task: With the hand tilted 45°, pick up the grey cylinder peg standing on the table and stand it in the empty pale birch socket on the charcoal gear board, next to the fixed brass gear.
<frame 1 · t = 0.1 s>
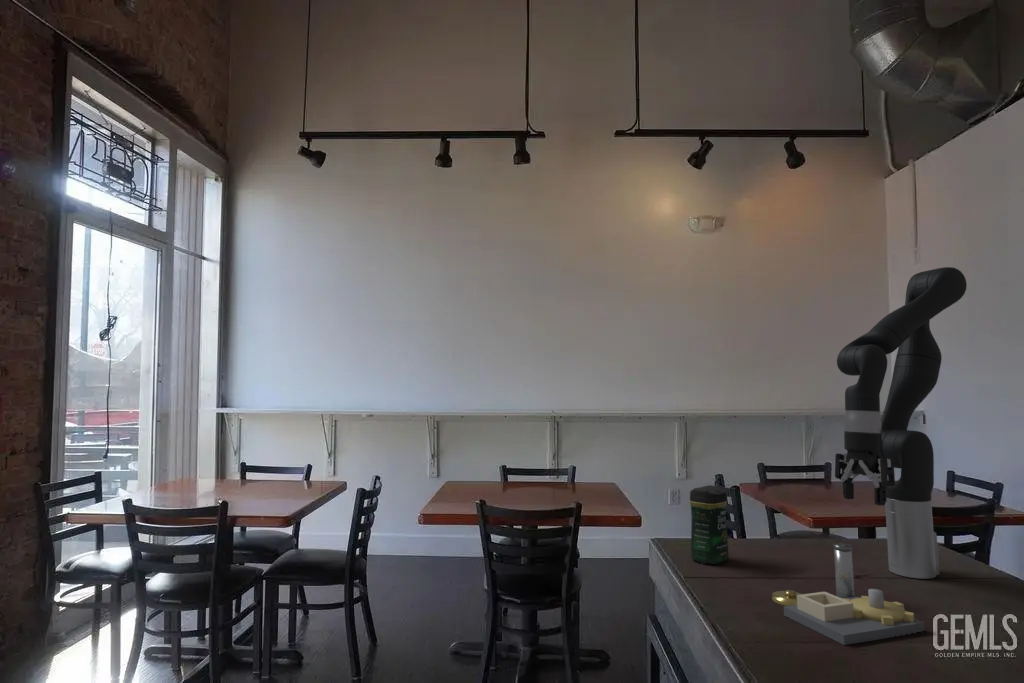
hand: (863, 501, 135), 17 cm above the counter, tool pointing down, fingers open, 8 cm apart
coffee jar: (710, 561, 150), on the counter
grey cylinder peg: (845, 599, 121), on the counter
brass knob disc: (790, 602, 121), on the counter
gear board: (851, 623, 109), on the counter
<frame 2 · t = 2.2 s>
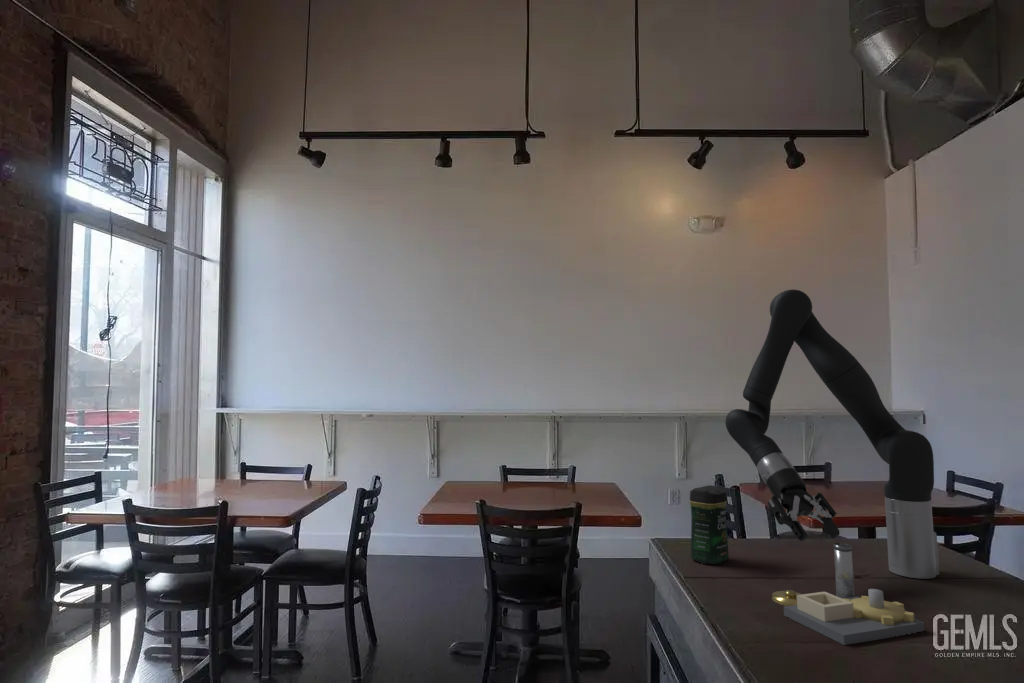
hand: (820, 537, 128), 11 cm above the counter, tool tilted 45°, fingers open, 8 cm apart
nothing on the counter moved.
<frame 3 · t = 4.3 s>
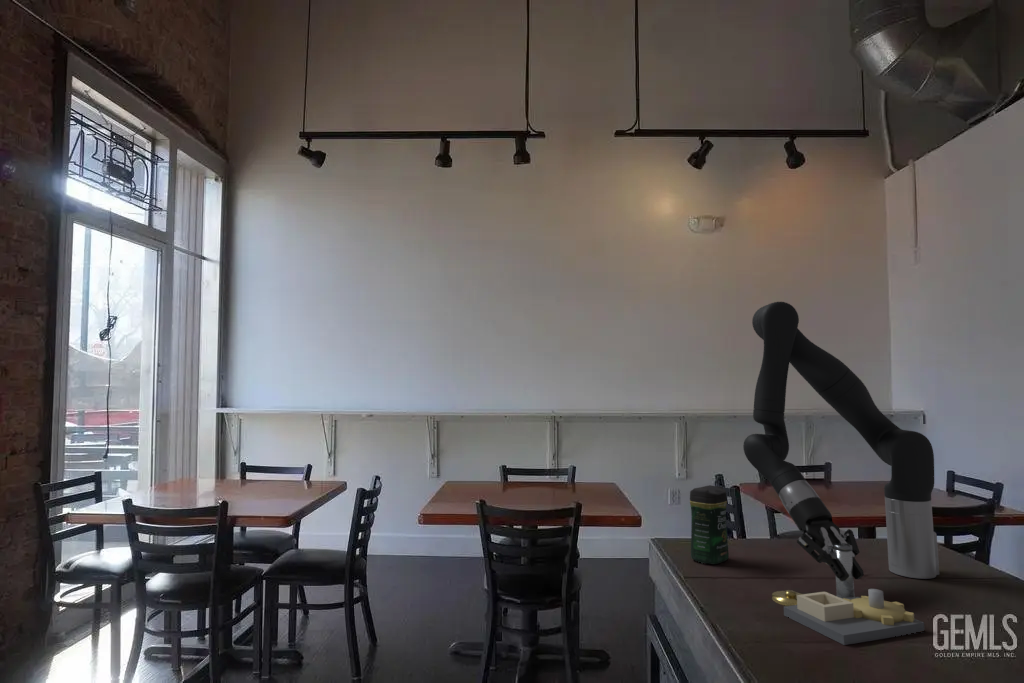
hand: (852, 577, 120), 5 cm above the counter, tool tilted 45°, fingers closed on grey cylinder peg, 3 cm apart
grey cylinder peg: (845, 599, 121), on the counter, touching gripper
everything else where it was.
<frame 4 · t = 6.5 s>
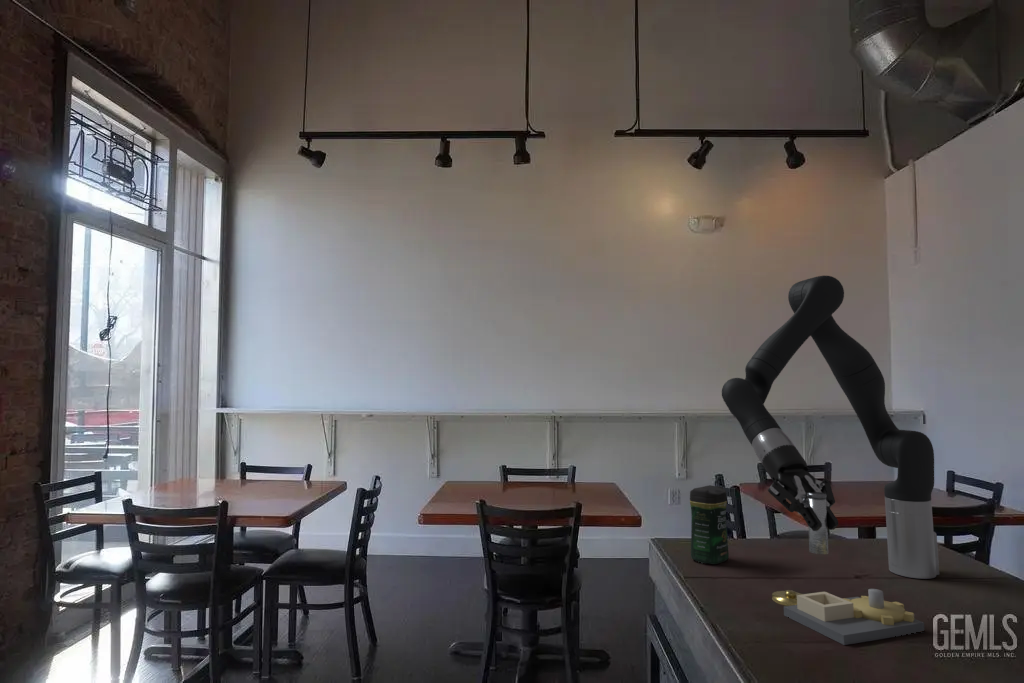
hand: (826, 527, 111), 17 cm above the counter, tool tilted 45°, fingers closed on grey cylinder peg, 3 cm apart
grey cylinder peg: (818, 552, 112), point 12 cm above the counter, touching gripper
everything else where it was.
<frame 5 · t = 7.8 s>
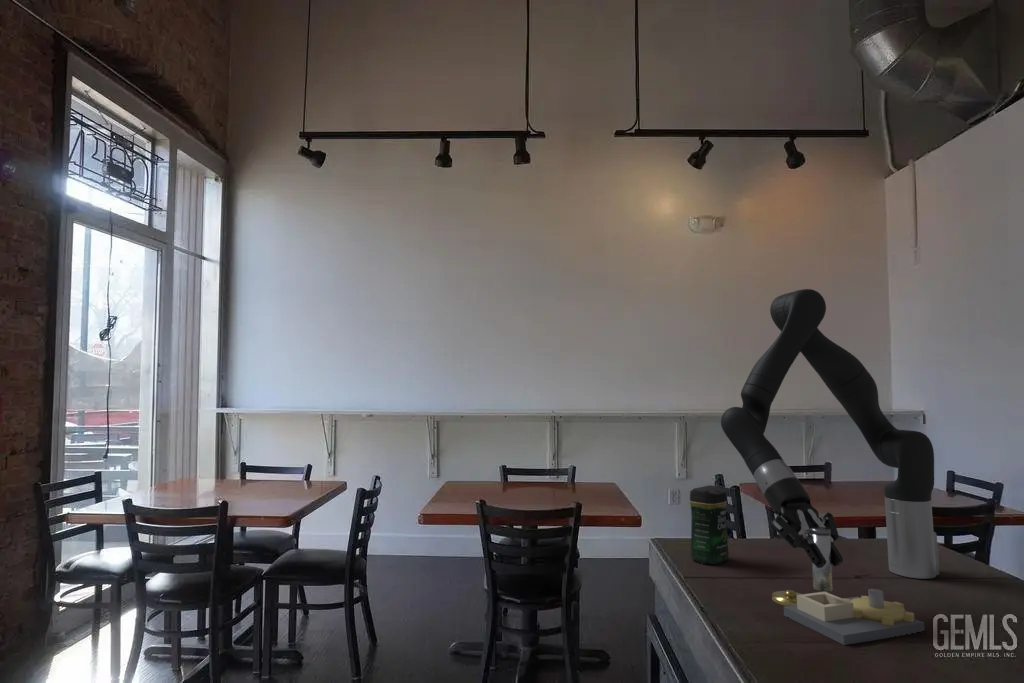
hand: (830, 564, 109), 11 cm above the counter, tool tilted 45°, fingers closed on grey cylinder peg, 3 cm apart
grey cylinder peg: (822, 588, 110), point 6 cm above the counter, touching gripper
everything else where it was.
when the fingers open (8 cm above the counter, at t = 8.7 s): grey cylinder peg drops 1 cm, resting on gear board.
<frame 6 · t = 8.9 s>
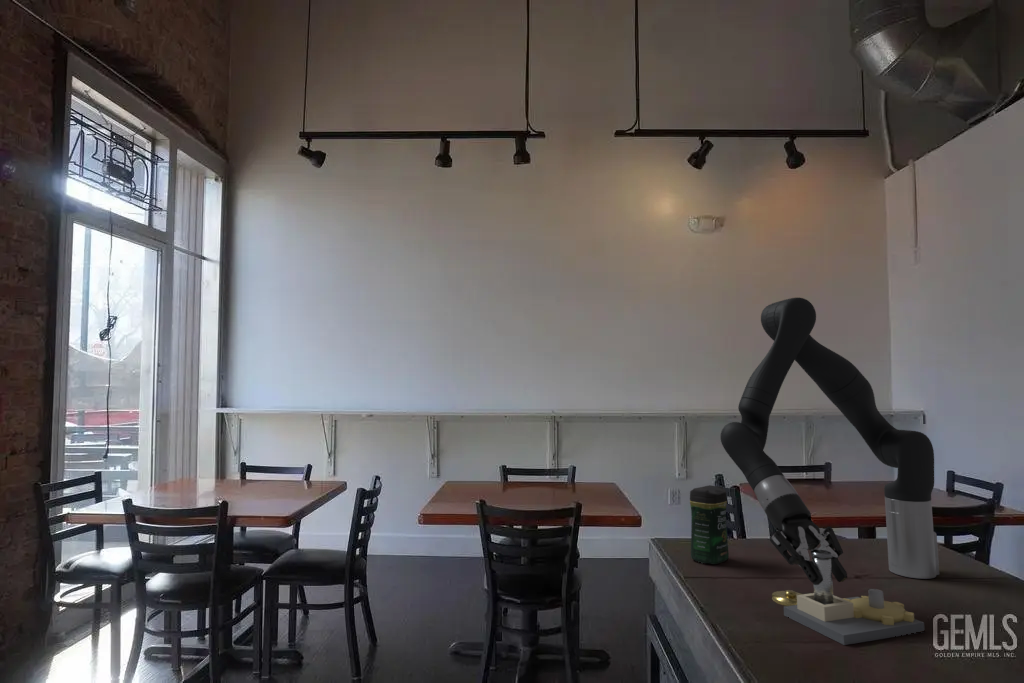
hand: (831, 580, 109), 8 cm above the counter, tool tilted 45°, fingers open, 5 cm apart
grey cylinder peg: (824, 612, 110), point 2 cm above the counter, touching gear board
everything else where it was.
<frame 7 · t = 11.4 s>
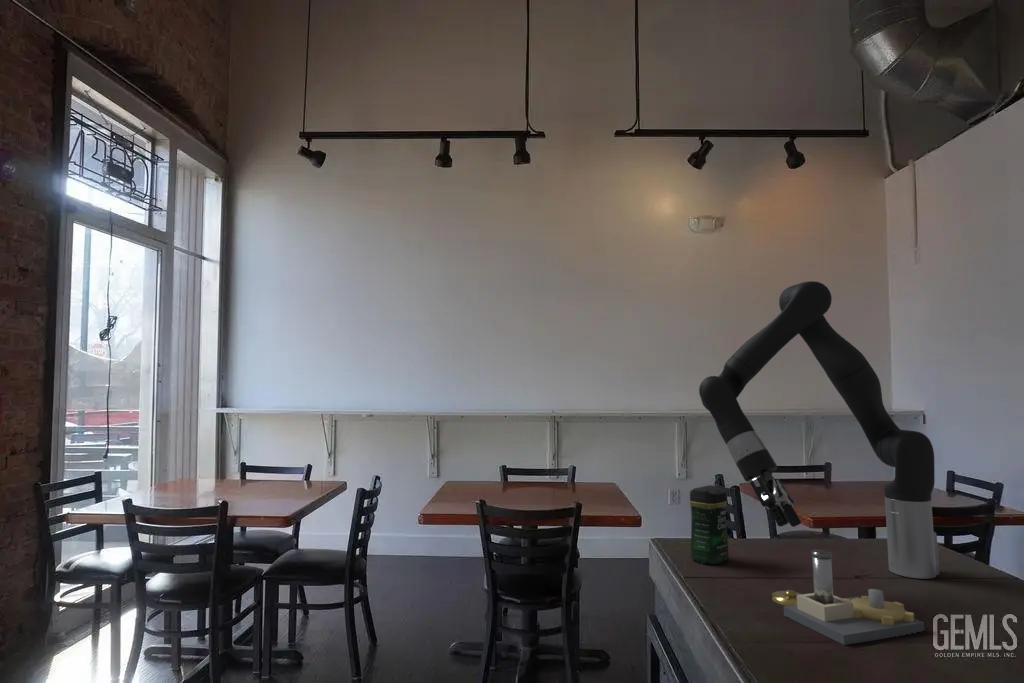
hand: (790, 525, 124), 15 cm above the counter, tool tilted 35°, fingers open, 8 cm apart
nothing on the counter moved.
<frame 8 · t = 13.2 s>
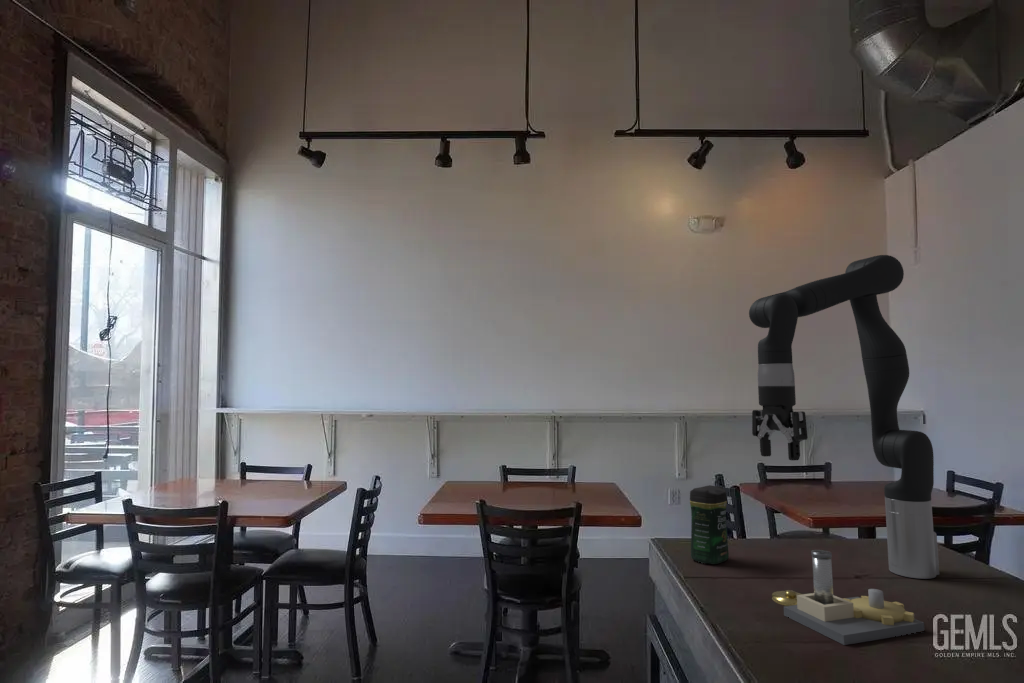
hand: (779, 458, 130), 28 cm above the counter, tool pointing down, fingers open, 8 cm apart
nothing on the counter moved.
at the end: grey cylinder peg 0.1 cm from the target spot, point 1.6 cm above the counter; grey cylinder peg tilted 0°; the gripper is holding nothing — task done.
